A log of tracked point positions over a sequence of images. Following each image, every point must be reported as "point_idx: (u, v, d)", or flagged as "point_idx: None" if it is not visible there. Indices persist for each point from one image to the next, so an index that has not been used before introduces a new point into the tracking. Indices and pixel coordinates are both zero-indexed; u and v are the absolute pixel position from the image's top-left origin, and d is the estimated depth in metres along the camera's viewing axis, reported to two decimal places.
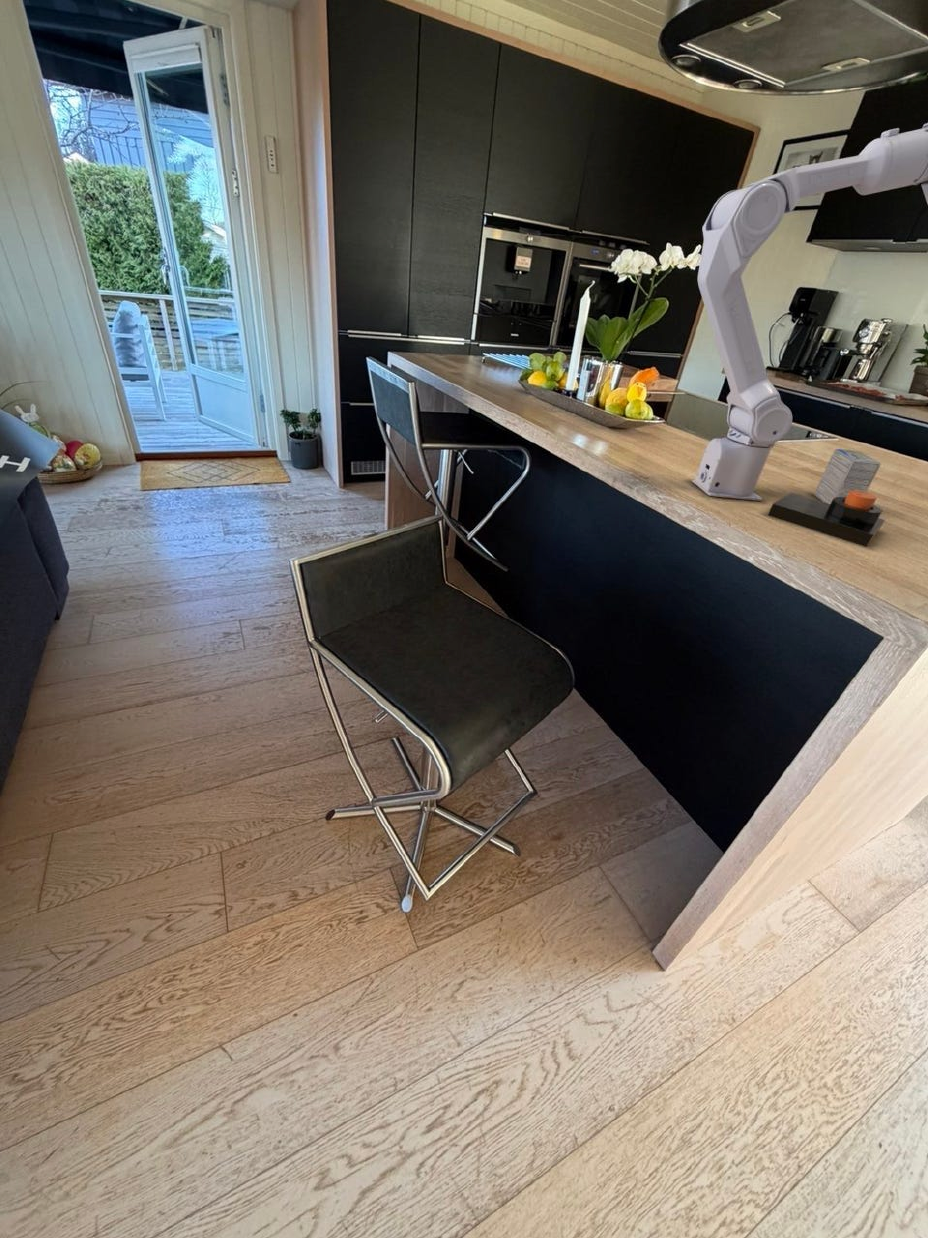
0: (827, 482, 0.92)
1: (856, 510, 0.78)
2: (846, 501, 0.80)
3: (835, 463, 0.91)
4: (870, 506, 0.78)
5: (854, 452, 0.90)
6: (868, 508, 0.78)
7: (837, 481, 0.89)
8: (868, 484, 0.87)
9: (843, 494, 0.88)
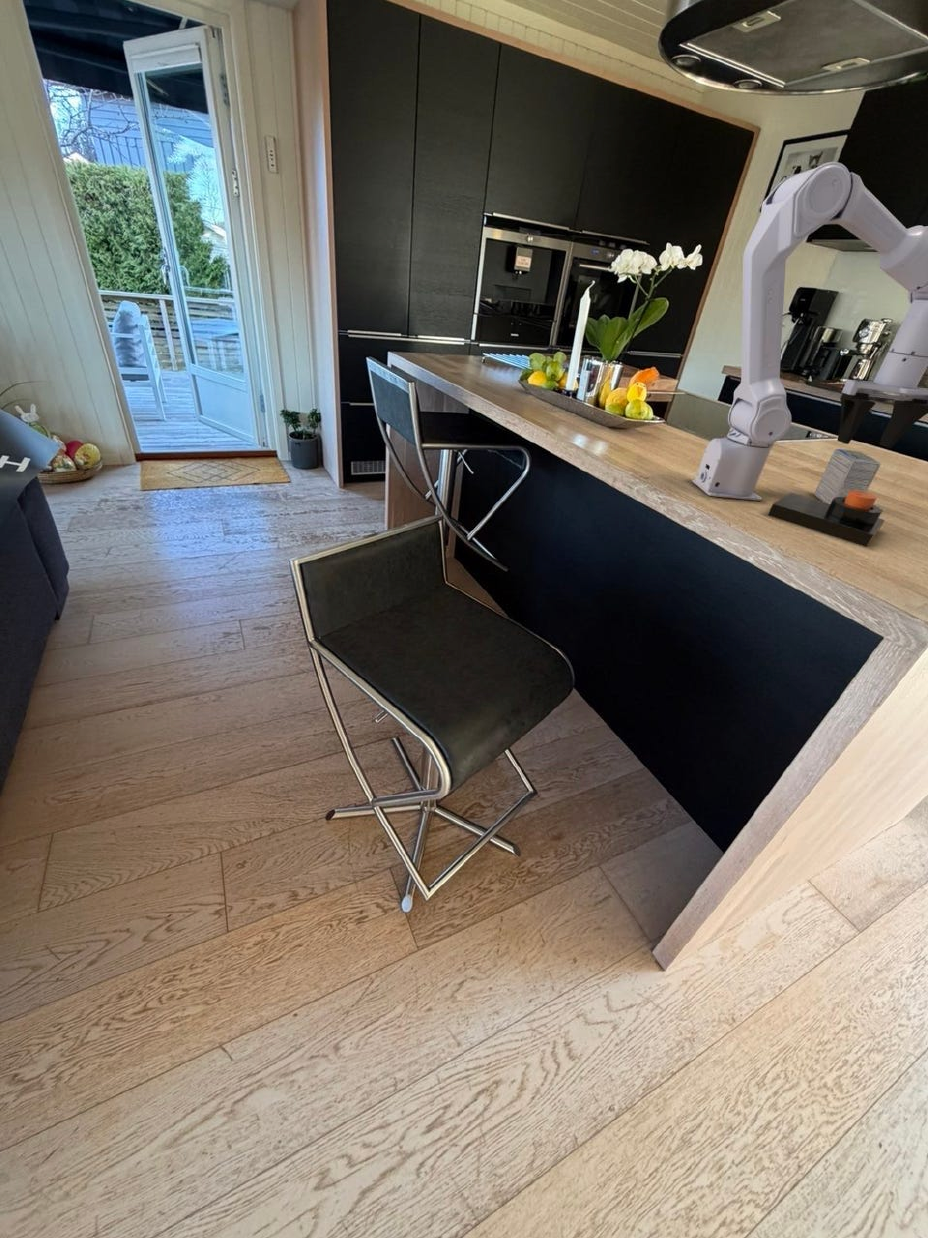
0: (827, 482, 0.92)
1: (856, 510, 0.78)
2: (846, 501, 0.80)
3: (835, 463, 0.91)
4: (870, 506, 0.78)
5: (854, 452, 0.90)
6: (868, 508, 0.78)
7: (837, 481, 0.89)
8: (868, 484, 0.87)
9: (843, 494, 0.88)
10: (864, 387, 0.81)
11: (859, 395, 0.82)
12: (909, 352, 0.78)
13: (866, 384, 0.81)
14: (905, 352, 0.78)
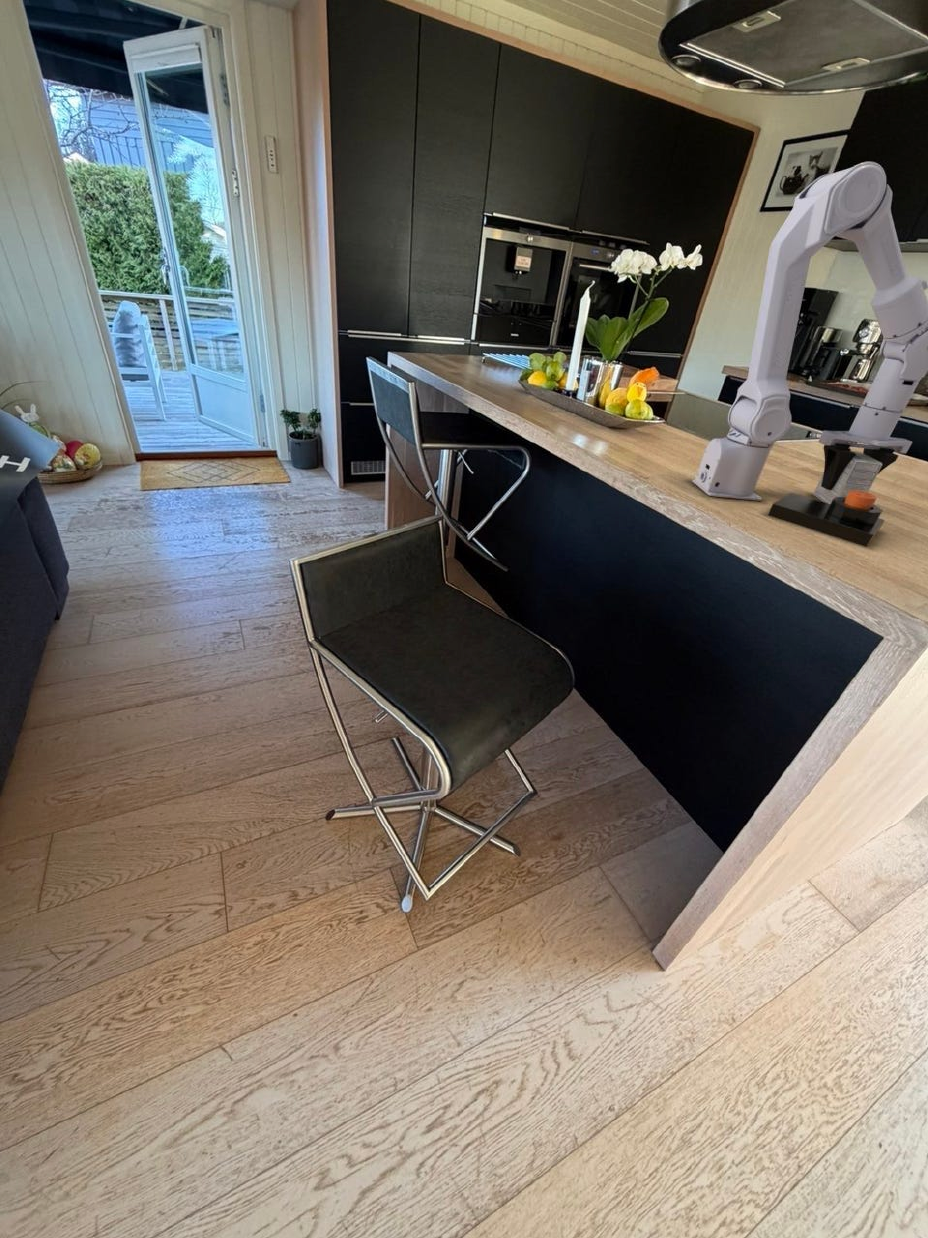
0: None
1: (856, 510, 0.78)
2: (846, 501, 0.80)
3: None
4: (870, 506, 0.78)
5: (854, 452, 0.90)
6: (868, 508, 0.78)
7: (838, 482, 0.89)
8: (870, 484, 0.87)
9: (845, 494, 0.88)
10: (839, 438, 0.85)
11: (841, 446, 0.86)
12: (881, 407, 0.82)
13: (841, 435, 0.85)
14: (877, 407, 0.82)
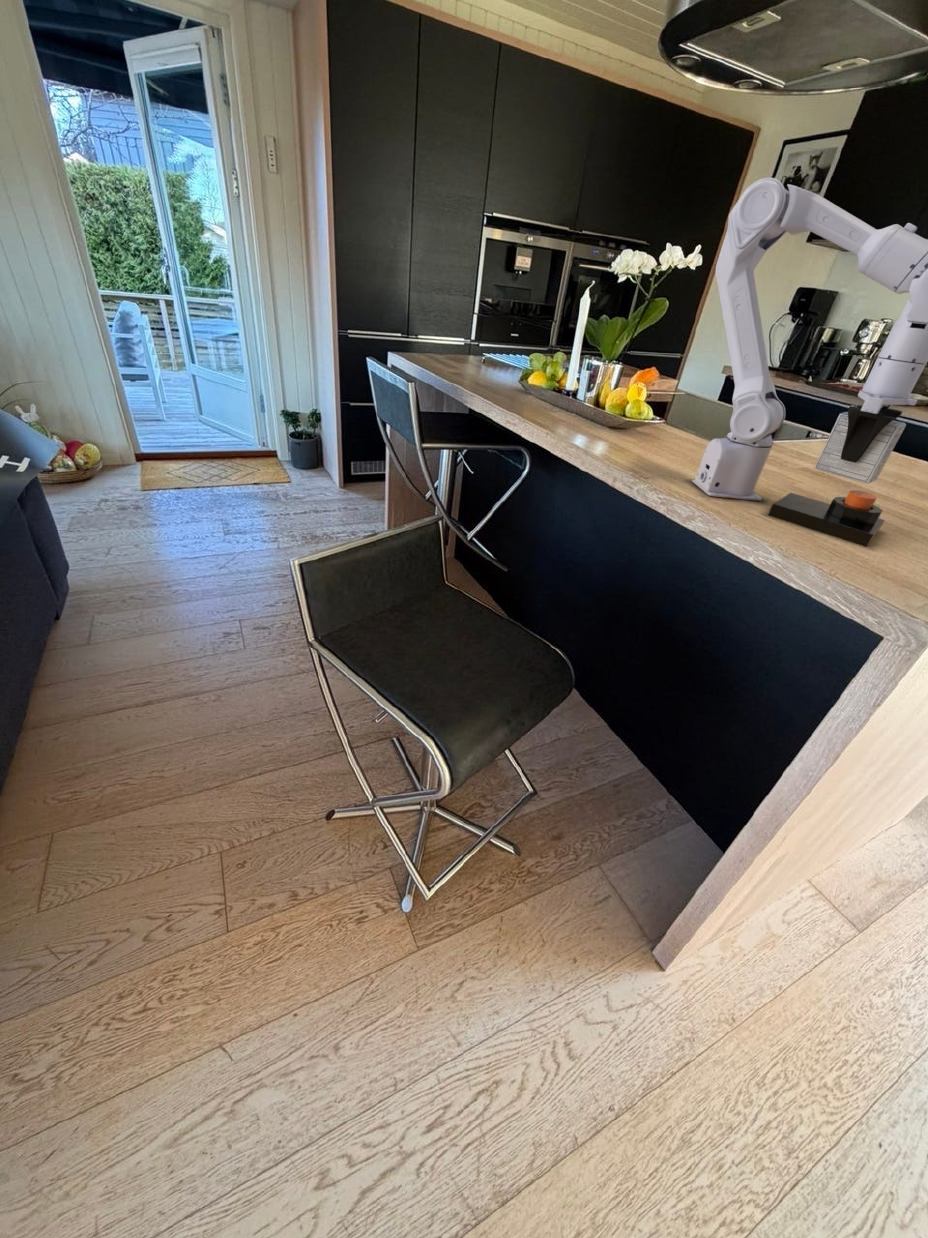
0: None
1: (856, 510, 0.78)
2: (846, 501, 0.80)
3: None
4: (870, 506, 0.78)
5: None
6: (868, 508, 0.78)
7: (869, 452, 0.76)
8: None
9: (880, 465, 0.77)
10: (885, 403, 0.71)
11: (879, 411, 0.73)
12: (886, 356, 0.72)
13: (888, 400, 0.71)
14: (883, 356, 0.72)
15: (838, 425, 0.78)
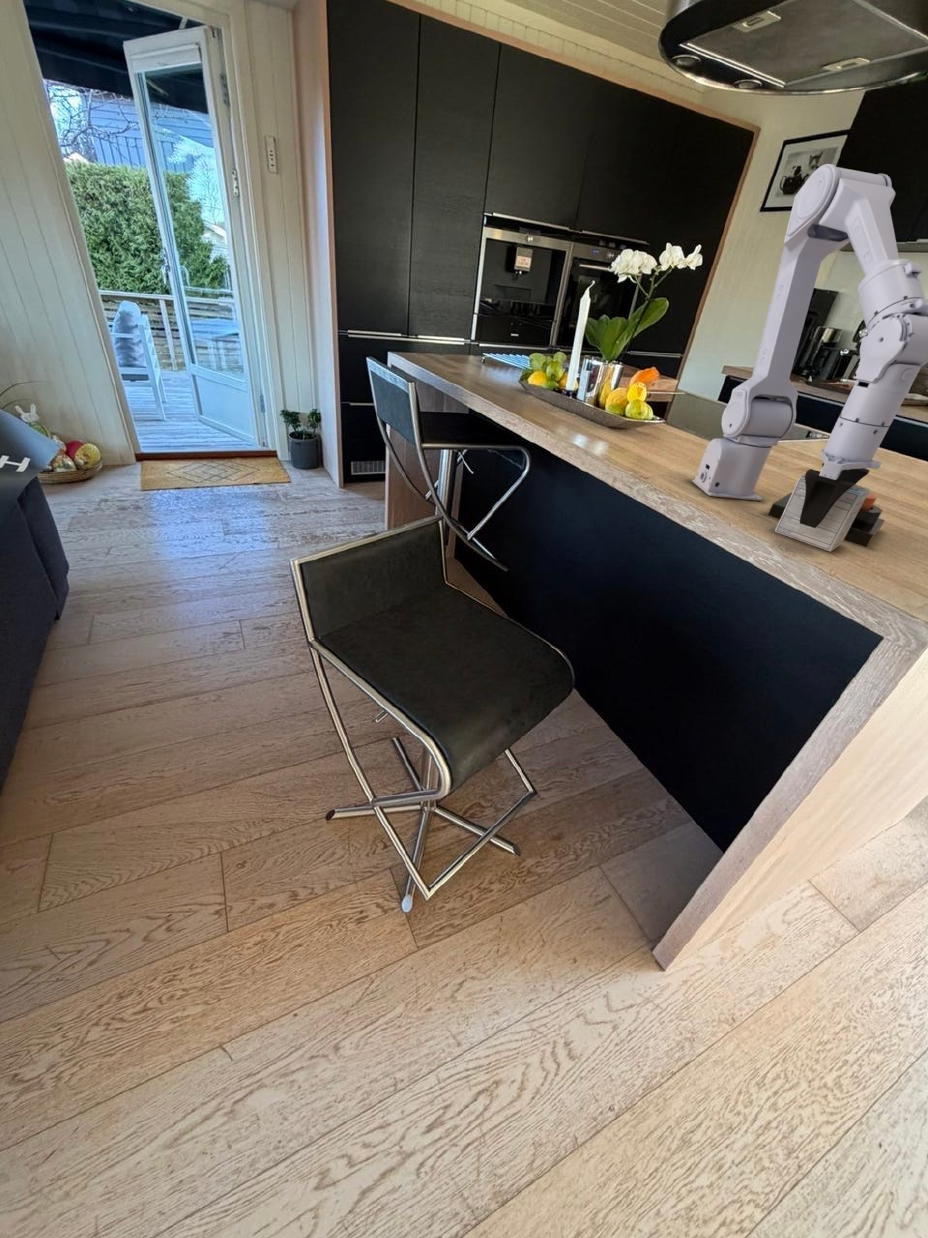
0: None
1: None
2: None
3: None
4: (870, 506, 0.78)
5: None
6: (868, 508, 0.78)
7: (830, 519, 0.71)
8: None
9: (842, 532, 0.72)
10: (845, 468, 0.66)
11: (838, 477, 0.67)
12: (840, 414, 0.68)
13: (848, 465, 0.66)
14: (840, 414, 0.69)
15: (798, 489, 0.73)
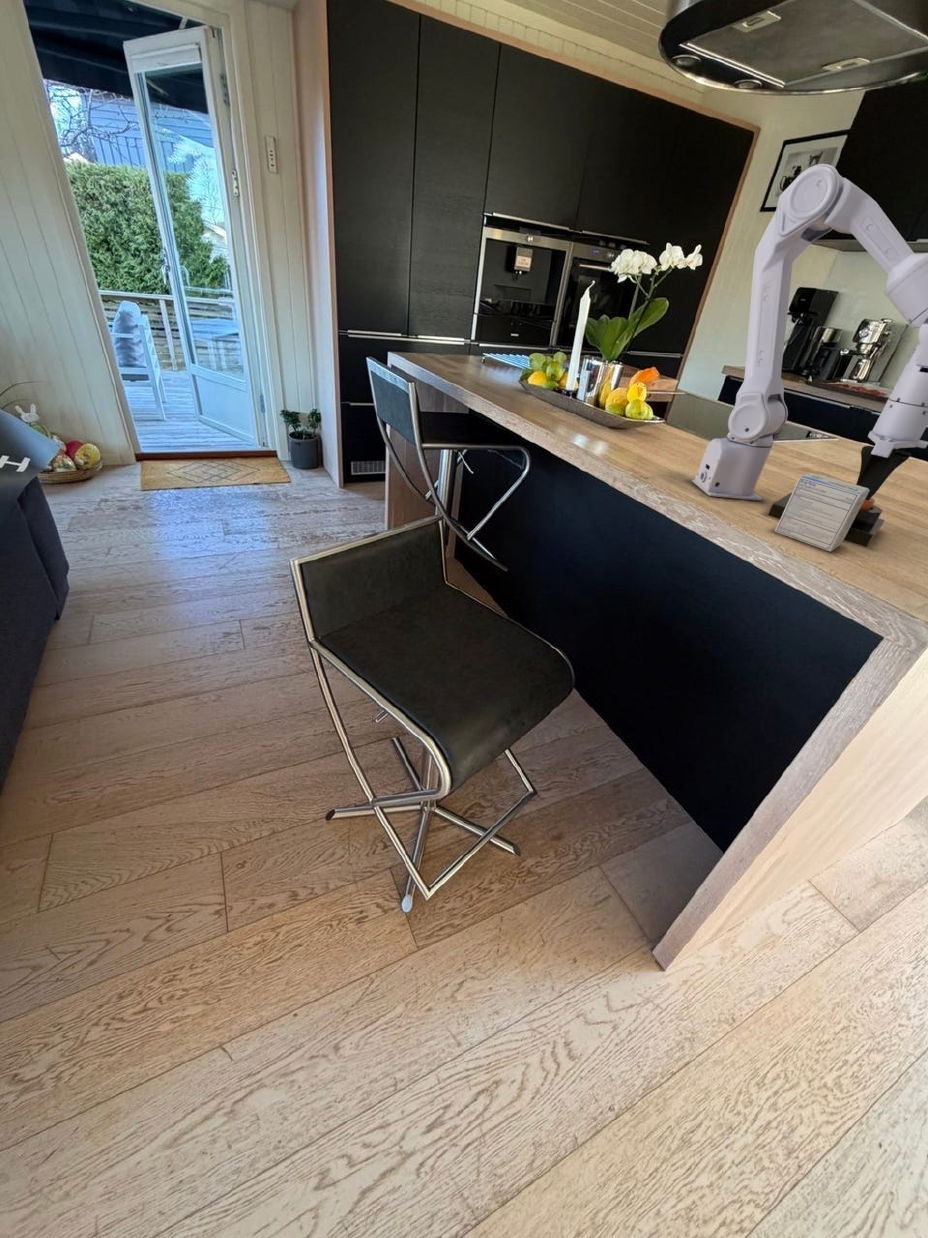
0: (804, 519, 0.74)
1: None
2: None
3: (811, 495, 0.72)
4: (868, 509, 0.79)
5: (820, 477, 0.73)
6: None
7: (830, 519, 0.71)
8: None
9: (842, 532, 0.72)
10: (896, 447, 0.70)
11: (892, 452, 0.74)
12: (895, 398, 0.71)
13: (898, 443, 0.70)
14: (892, 398, 0.72)
15: (798, 489, 0.73)
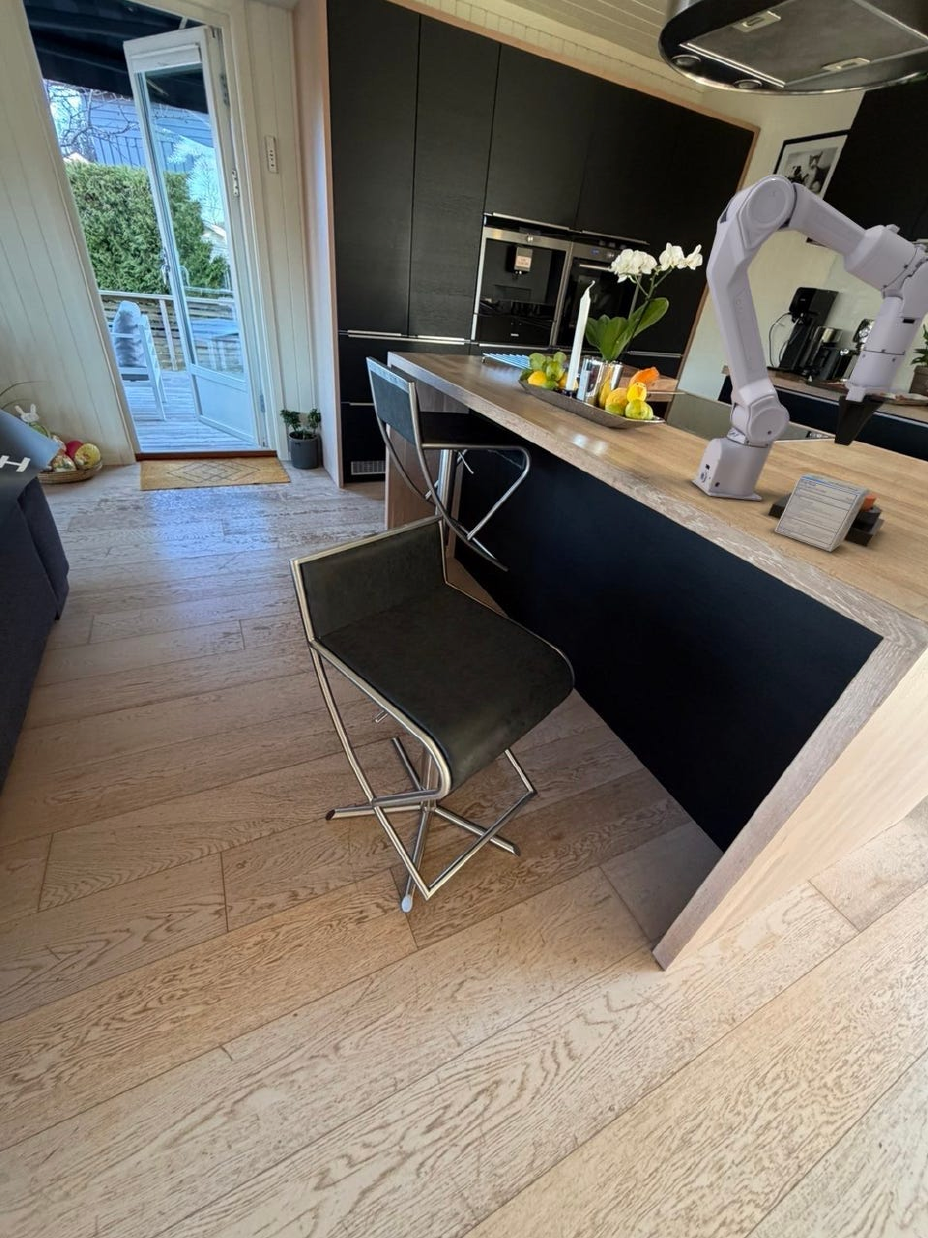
0: (804, 519, 0.74)
1: None
2: None
3: (811, 495, 0.72)
4: (870, 506, 0.78)
5: (820, 477, 0.73)
6: (868, 508, 0.78)
7: (830, 519, 0.71)
8: None
9: (842, 532, 0.72)
10: (868, 392, 0.77)
11: (867, 398, 0.80)
12: (880, 350, 0.77)
13: (870, 388, 0.77)
14: (876, 350, 0.77)
15: (798, 489, 0.73)
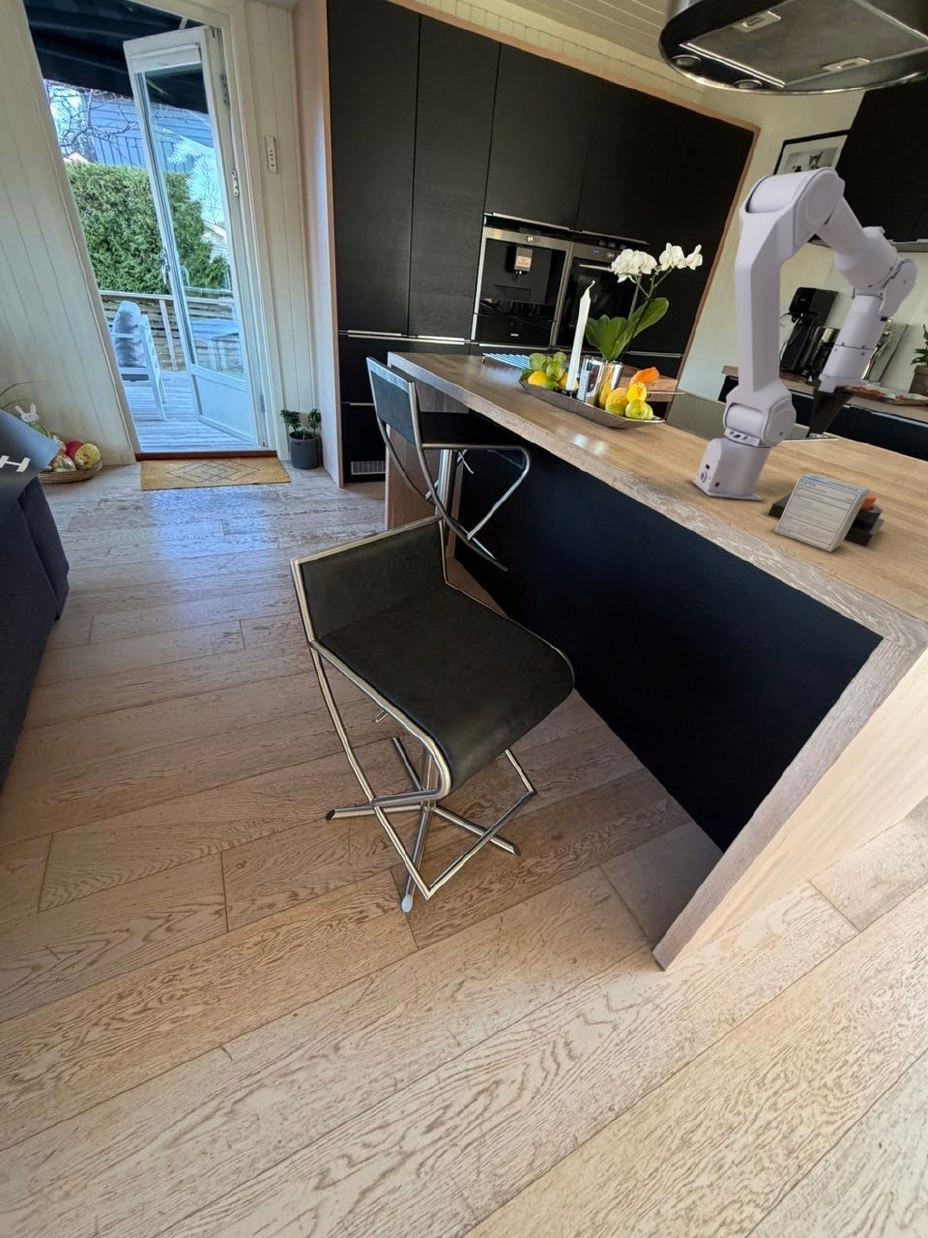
0: (804, 519, 0.74)
1: None
2: None
3: (811, 495, 0.72)
4: (870, 506, 0.78)
5: (820, 477, 0.73)
6: (868, 508, 0.78)
7: (830, 519, 0.71)
8: None
9: (842, 532, 0.72)
10: (839, 383, 0.83)
11: (838, 390, 0.86)
12: (860, 346, 0.82)
13: (841, 380, 0.83)
14: (856, 346, 0.82)
15: (798, 489, 0.73)
